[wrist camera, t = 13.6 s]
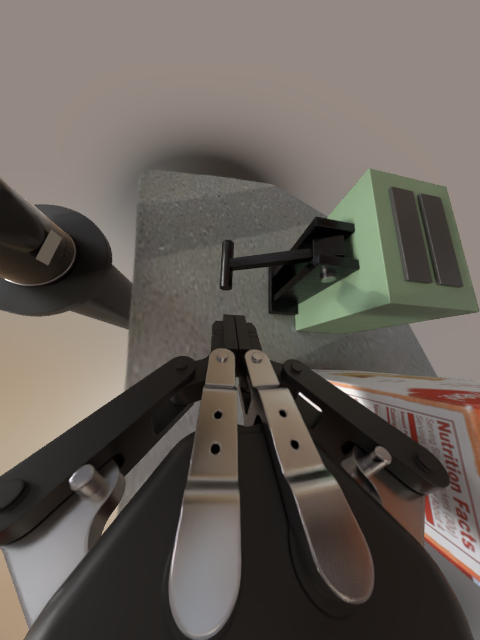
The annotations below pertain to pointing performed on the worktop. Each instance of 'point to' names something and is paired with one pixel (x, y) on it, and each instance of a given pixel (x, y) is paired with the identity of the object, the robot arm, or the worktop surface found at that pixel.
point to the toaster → (394, 260)
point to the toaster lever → (276, 257)
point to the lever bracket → (309, 269)
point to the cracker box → (433, 448)
